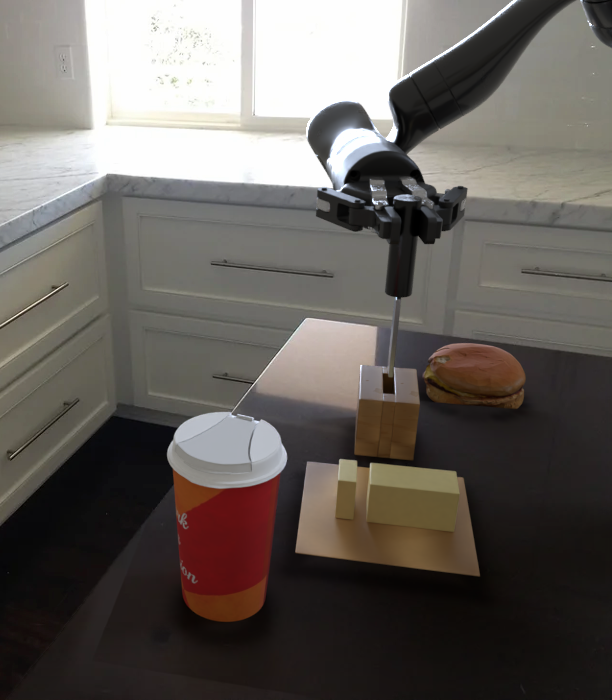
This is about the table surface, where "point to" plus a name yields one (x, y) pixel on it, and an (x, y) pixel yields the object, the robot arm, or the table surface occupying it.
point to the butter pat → (346, 489)
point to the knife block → (387, 412)
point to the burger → (475, 376)
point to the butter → (412, 497)
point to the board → (378, 530)
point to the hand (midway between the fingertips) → (413, 232)
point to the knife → (402, 263)
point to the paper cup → (225, 511)
